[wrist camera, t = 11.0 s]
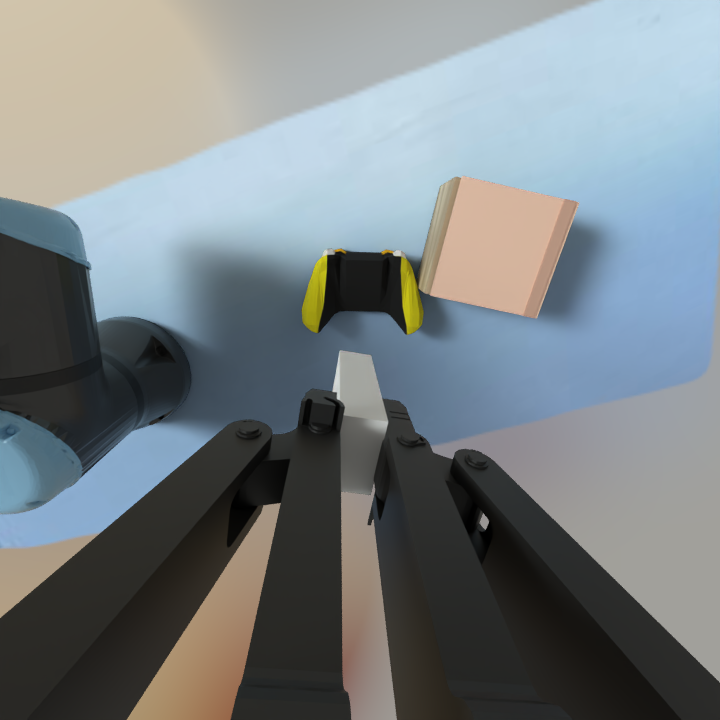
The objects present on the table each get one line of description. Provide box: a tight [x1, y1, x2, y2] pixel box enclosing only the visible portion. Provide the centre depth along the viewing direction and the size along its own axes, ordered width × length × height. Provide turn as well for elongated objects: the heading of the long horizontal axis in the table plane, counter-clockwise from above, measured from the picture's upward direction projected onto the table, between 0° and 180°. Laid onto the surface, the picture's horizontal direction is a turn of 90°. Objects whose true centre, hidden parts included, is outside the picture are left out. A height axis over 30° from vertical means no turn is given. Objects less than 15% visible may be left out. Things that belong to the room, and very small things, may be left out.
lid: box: [430, 176, 579, 319], centre depth 38 cm, size 12×12×1 cm
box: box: [416, 177, 461, 294], centre depth 42 cm, size 12×12×7 cm
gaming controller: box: [302, 249, 424, 335], centre depth 45 cm, size 15×6×10 cm
